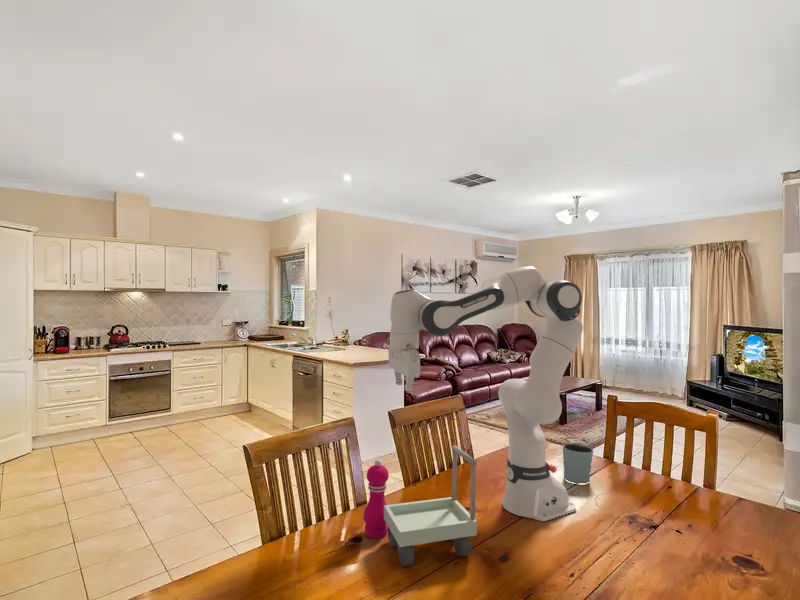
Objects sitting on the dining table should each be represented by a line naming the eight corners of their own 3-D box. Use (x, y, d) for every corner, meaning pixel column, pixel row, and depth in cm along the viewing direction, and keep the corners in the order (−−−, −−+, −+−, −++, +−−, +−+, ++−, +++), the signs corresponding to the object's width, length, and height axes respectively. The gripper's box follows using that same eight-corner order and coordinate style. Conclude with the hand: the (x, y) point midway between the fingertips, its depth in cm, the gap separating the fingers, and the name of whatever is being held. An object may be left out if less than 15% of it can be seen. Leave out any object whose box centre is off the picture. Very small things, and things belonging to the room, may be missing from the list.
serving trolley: (452, 529, 124) (454, 443, 124) (476, 559, 110) (479, 461, 110) (382, 540, 118) (384, 449, 118) (399, 572, 104) (401, 469, 104)
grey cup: (556, 476, 164) (556, 444, 164) (579, 474, 167) (579, 442, 167) (574, 488, 154) (575, 453, 154) (598, 485, 157) (599, 451, 157)
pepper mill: (386, 541, 118) (388, 466, 117) (360, 537, 119) (361, 463, 118) (391, 526, 125) (393, 456, 124) (366, 523, 126) (368, 454, 126)
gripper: (426, 345, 127) (425, 394, 127) (404, 339, 146) (403, 381, 146) (405, 346, 125) (404, 395, 125) (385, 339, 144) (384, 382, 144)
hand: (403, 387), depth 136 cm, fingers open, 8 cm apart
